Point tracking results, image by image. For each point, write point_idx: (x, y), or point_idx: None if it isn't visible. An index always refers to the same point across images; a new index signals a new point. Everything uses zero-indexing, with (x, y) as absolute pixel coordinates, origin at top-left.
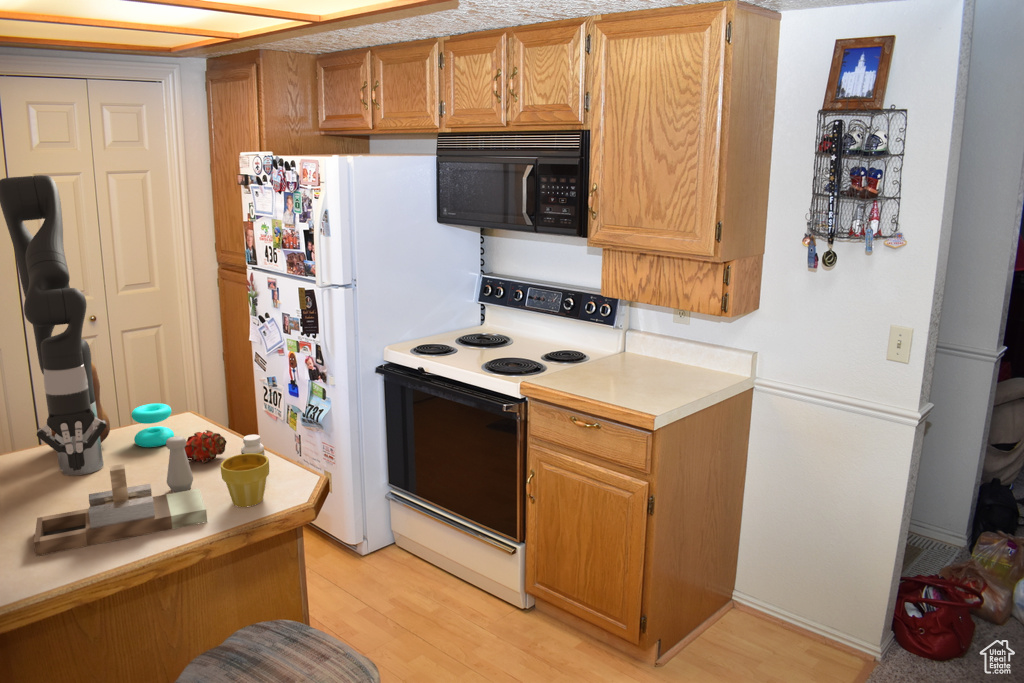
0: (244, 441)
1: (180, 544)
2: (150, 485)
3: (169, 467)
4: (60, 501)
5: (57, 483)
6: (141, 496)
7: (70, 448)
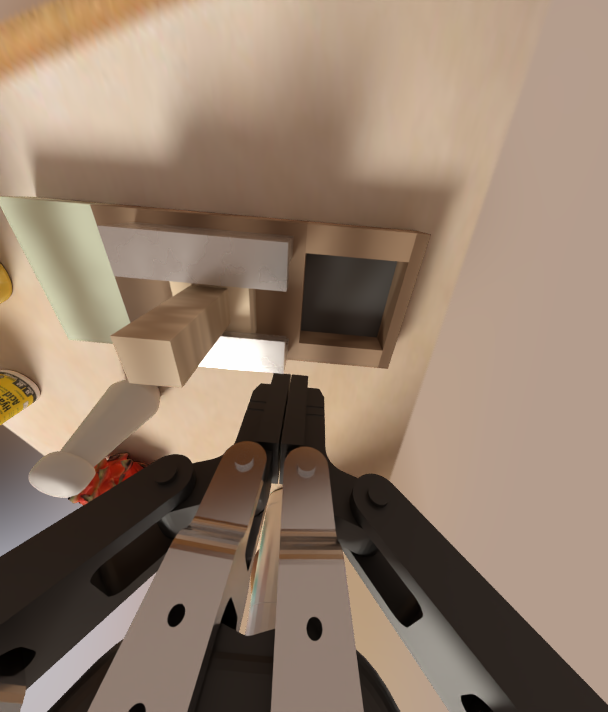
0: None
1: (66, 62)
2: None
3: (123, 422)
4: (331, 435)
5: None
6: None
7: (300, 487)
